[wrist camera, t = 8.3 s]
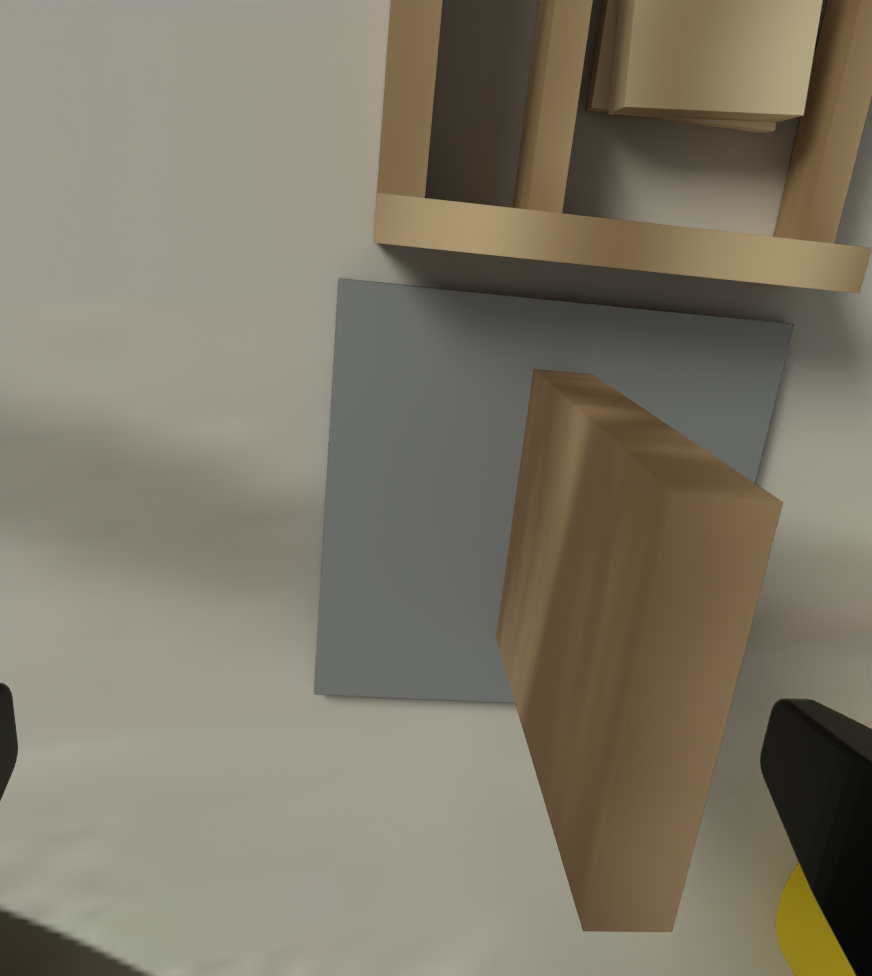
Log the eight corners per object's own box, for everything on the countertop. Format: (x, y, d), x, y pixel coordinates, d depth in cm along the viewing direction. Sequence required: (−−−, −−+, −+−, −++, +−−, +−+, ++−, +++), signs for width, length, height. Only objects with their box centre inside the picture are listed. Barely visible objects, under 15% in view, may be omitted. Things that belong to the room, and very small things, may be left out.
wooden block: (592, 374, 20) (782, 502, 11) (548, 640, 23) (671, 932, 13) (533, 368, 20) (675, 494, 11) (495, 637, 23) (583, 931, 13)
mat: (785, 322, 21) (793, 324, 20) (694, 703, 24) (699, 710, 24) (338, 278, 19) (338, 279, 19) (314, 686, 23) (314, 694, 23)
